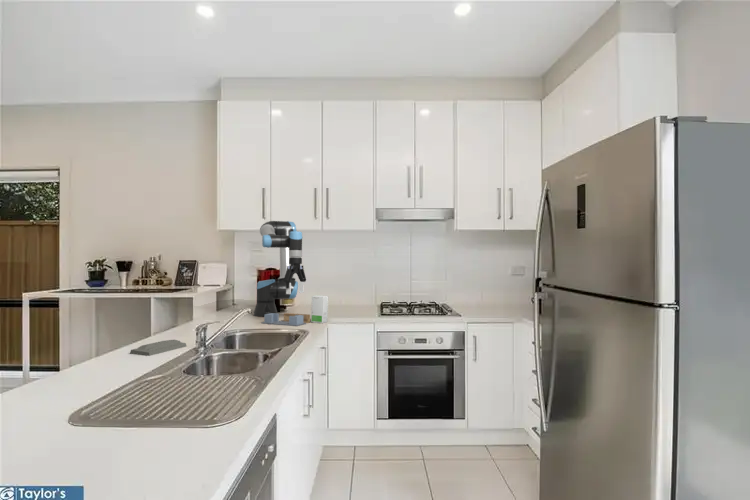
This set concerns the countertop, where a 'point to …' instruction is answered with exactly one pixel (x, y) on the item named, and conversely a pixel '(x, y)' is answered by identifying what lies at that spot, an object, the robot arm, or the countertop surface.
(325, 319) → the skincare box
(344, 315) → the countertop surface
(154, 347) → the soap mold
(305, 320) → the brown long rectangular block
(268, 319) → the endcap rail
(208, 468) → the countertop surface
